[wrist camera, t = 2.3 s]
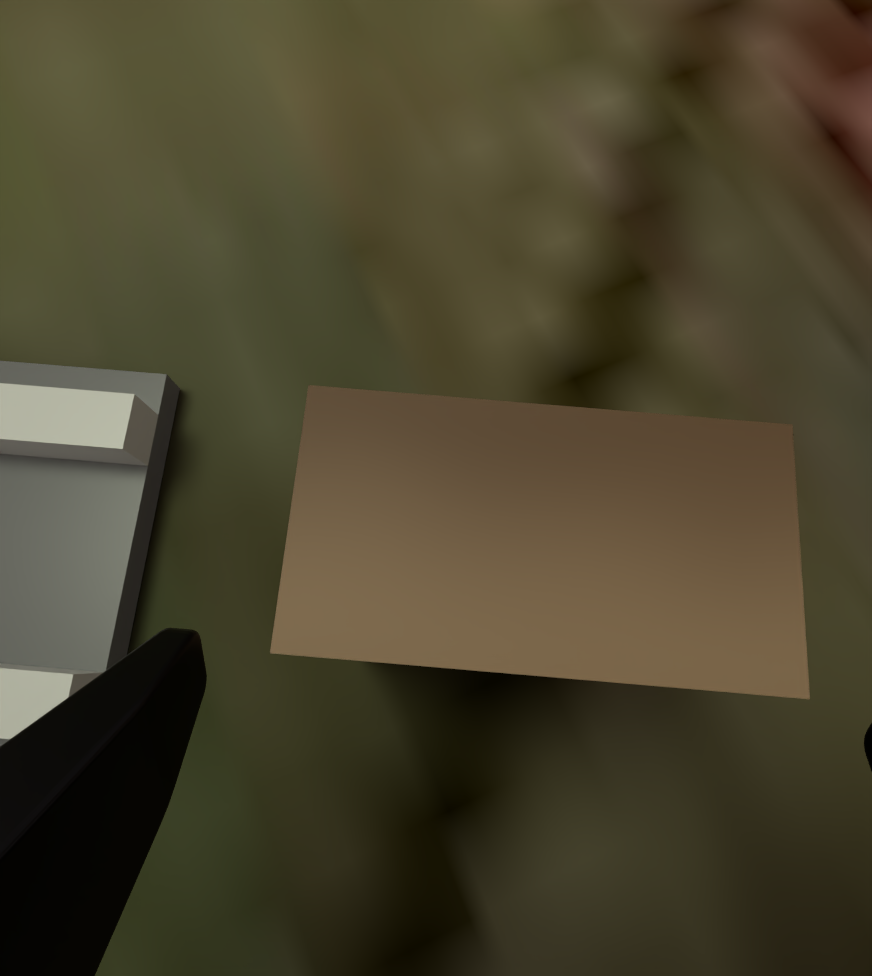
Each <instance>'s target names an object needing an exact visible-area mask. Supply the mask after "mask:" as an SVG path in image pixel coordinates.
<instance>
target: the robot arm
mask: <svg viewBox="0 0 872 976" xmlns="http://www.w3.org/2000/svg"><path fill="white" fill-rule="evenodd" d="M206 680H207V675H206V668H205V662H204V656H203V650H202V644H201V639H200V636H199V634H198V632H196V631H194V630H189V629H177V628H166V629H164V630H162V631H160V632H159V633H157V634H156V635H154V636H153V637H152V638H150V639H149V640H147V641H146V642H145V643H143V644H142V645H140V646H139V647H138V648H136V649H135V650H134V651H132V652H131V653H129V654H128V655H127V656H125V657H124V658H122V659H121V660H120V661H118V662H117V663H115V664H114V665H113V666H111V667H110V668H108V669H107V670H106V671H104V672H103V673H102V674H100V675H99V676H97V677H96V678H95V679H93V680H92V681H90V682H89V683H88V684H86V685H85V686H83V687H82V688H81V689H79V690H78V691H76V692H75V693H74V694H72V695H71V696H69V697H68V698H67V699H65V700H64V701H63V702H61V703H60V704H58V705H57V706H56V707H54V708H53V709H51V710H50V711H49V712H47V713H46V714H44V715H43V716H42V717H40V718H39V719H37V720H36V721H35V722H33V723H32V724H31V725H29V726H28V727H26V728H25V729H24V730H22V731H21V732H19V733H18V734H17V735H15V736H14V737H12V738H11V739H10V740H8V741H7V742H5V743H4V744H3V745H1V746H0V976H95V974H96V971H97V969H98V967H99V965H100V962H101V960H102V958H103V955H104V953H105V951H106V949H107V946H108V944H109V942H110V939H111V937H112V935H113V932H114V930H115V928H116V926H117V923H118V921H119V919H120V916H121V914H122V912H123V910H124V907H125V905H126V903H127V900H128V898H129V896H130V893H131V891H132V889H133V887H134V884H135V882H136V880H137V877H138V875H139V873H140V871H141V868H142V866H143V864H144V861H145V859H146V857H147V854H148V852H149V850H150V848H151V845H152V843H153V841H154V838H155V836H156V834H157V832H158V829H159V827H160V825H161V822H162V820H163V817H164V815H165V812H166V810H167V807H168V805H169V802H170V799H171V796H172V793H173V790H174V787H175V784H176V781H177V778H178V775H179V772H180V768H181V765H182V762H183V759H184V756H185V753H186V749H187V746H188V743H189V740H190V737H191V733H192V730H193V727H194V724H195V721H196V718H197V714H198V711H199V708H200V705H201V702H202V699H203V695H204V692H205V687H206ZM864 748H865V753H866V756H867V759H868V762H869V765H870V768H871V771H872V723H871V725H870V727H869V728H868V730H867V732H866V734H865V738H864Z"/></svg>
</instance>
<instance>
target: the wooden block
mask: <svg viewBox="0 0 872 976" xmlns="http://www.w3.org/2000/svg"><path fill="white" fill-rule="evenodd" d="M270 653H274V654H286V655H298V656H309V657H321V658H333V659H345V660H356V661H368V662H380V663H391V664H403V665H415V666H427V667H438V668H450V669H462V670H474V671H485V672H497V673H509V674H520V675H532V676H544V677H556V678H567V679H579V680H591V681H603V682H614V683H626V684H638V685H649V686H661V687H673V688H685V689H696V690H708V691H720V692H732V693H743V694H755V695H767V696H778V697H790V698H802V699H810V694H809V678H808V663H807V647H806V631H805V615H804V600H803V584H802V568H801V553H800V537H799V521H798V506H797V490H796V474H795V459H794V443H793V427H792V425H790V424H778V423H765V422H753V421H741V420H729V419H716V418H704V417H692V416H680V415H667V414H655V413H643V412H631V411H618V410H606V409H594V408H582V407H569V406H557V405H545V404H533V403H520V402H508V401H496V400H483V399H471V398H459V397H447V396H434V395H422V394H410V393H398V392H385V391H373V390H361V389H349V388H336V387H324V386H312V385H309V386H308V393H307V400H306V407H305V414H304V421H303V428H302V435H301V442H300V448H299V455H298V462H297V469H296V476H295V483H294V490H293V497H292V504H291V511H290V518H289V525H288V532H287V539H286V546H285V553H284V560H283V567H282V574H281V581H280V588H279V594H278V601H277V608H276V615H275V622H274V629H273V636H272V643H271V650H270Z"/></svg>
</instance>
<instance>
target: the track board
mask: <svg viewBox="0 0 872 976" xmlns="http://www.w3.org/2000/svg"><path fill="white" fill-rule="evenodd" d="M179 390H180V388H179V387H178V386H177V385H176V384H175V383H174V382H173V381H172V380H171V378H170V377H169V376H168V375H167V374H156V373H143V372H131V371H119V370H107V369H94V368H82V367H70V366H57V365H45V364H33V363H21V362H8V361H0V746H1V745H3V744H4V743H5V742H7V741H8V740H10V739H11V738H12V737H14V736H15V735H17V734H18V733H19V732H21V731H22V730H24V729H25V728H26V727H28V726H29V725H31V724H32V723H33V722H35V721H36V720H37V719H39V718H40V717H42V716H43V715H44V714H46V713H47V712H49V711H50V710H51V709H53V708H54V707H56V706H57V705H58V704H60V703H61V702H63V701H64V700H65V699H67V698H68V697H69V696H71V695H72V694H74V693H75V692H76V691H78V690H79V689H81V688H82V687H83V686H85V685H86V684H88V683H89V682H90V681H92V680H93V679H95V678H96V677H97V676H99V675H100V674H102V673H103V672H104V671H106V670H107V669H108V668H110V667H111V666H113V665H114V664H115V663H117V662H118V661H120V660H121V659H122V658H124V657H125V656H127V652H128V647H129V642H130V637H131V632H132V627H133V622H134V616H135V611H136V606H137V601H138V596H139V591H140V586H141V581H142V576H143V571H144V566H145V561H146V556H147V551H148V546H149V541H150V536H151V531H152V526H153V521H154V516H155V511H156V506H157V501H158V496H159V491H160V486H161V481H162V476H163V471H164V466H165V461H166V456H167V451H168V446H169V441H170V436H171V431H172V426H173V421H174V416H175V411H176V406H177V401H178V396H179Z"/></svg>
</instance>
